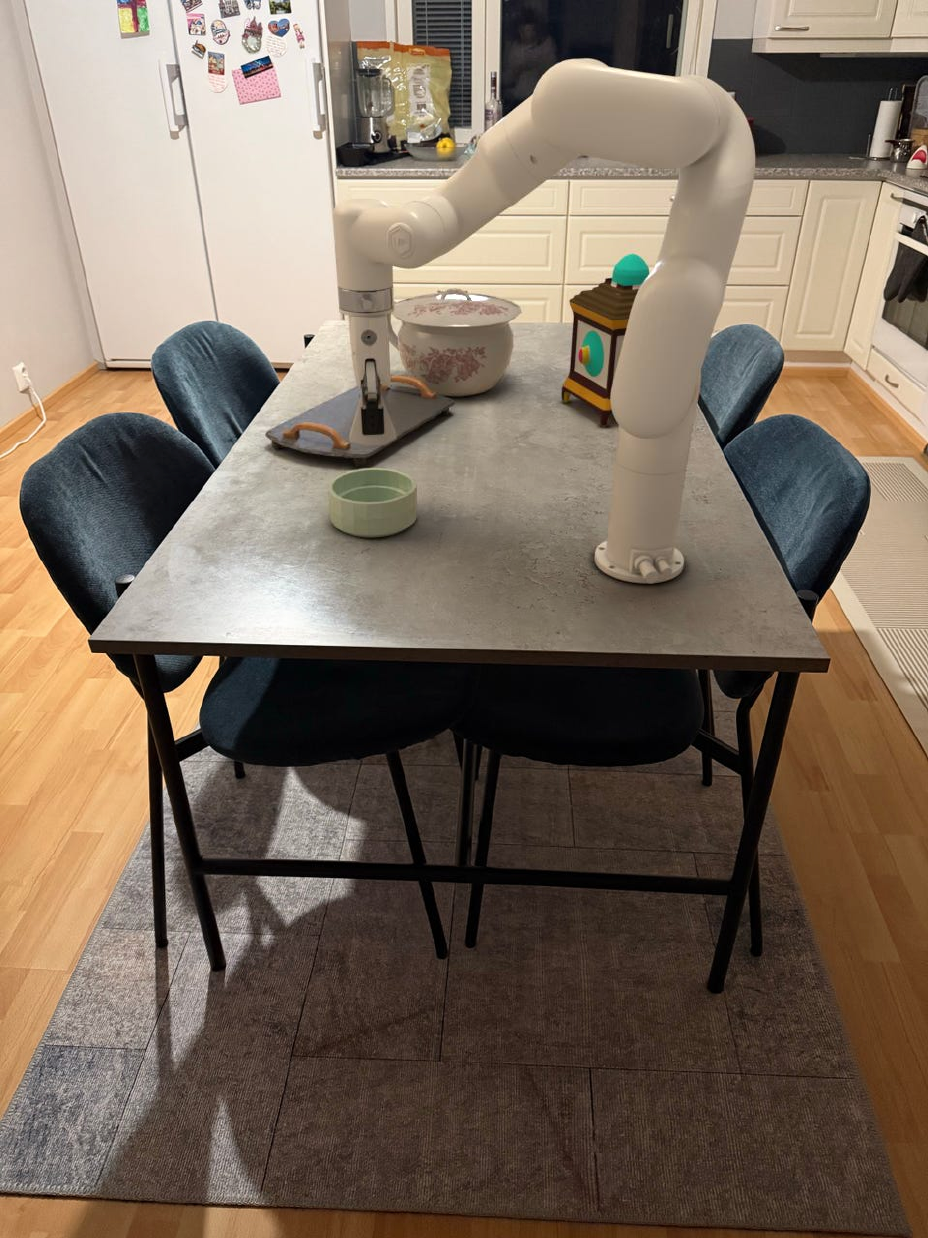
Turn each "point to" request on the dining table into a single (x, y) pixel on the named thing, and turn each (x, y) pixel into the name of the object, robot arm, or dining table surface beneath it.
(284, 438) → the serving tray
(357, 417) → the flask
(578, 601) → the dining table surface
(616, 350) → the decorative lantern
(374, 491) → the basin
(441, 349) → the chamber pot
